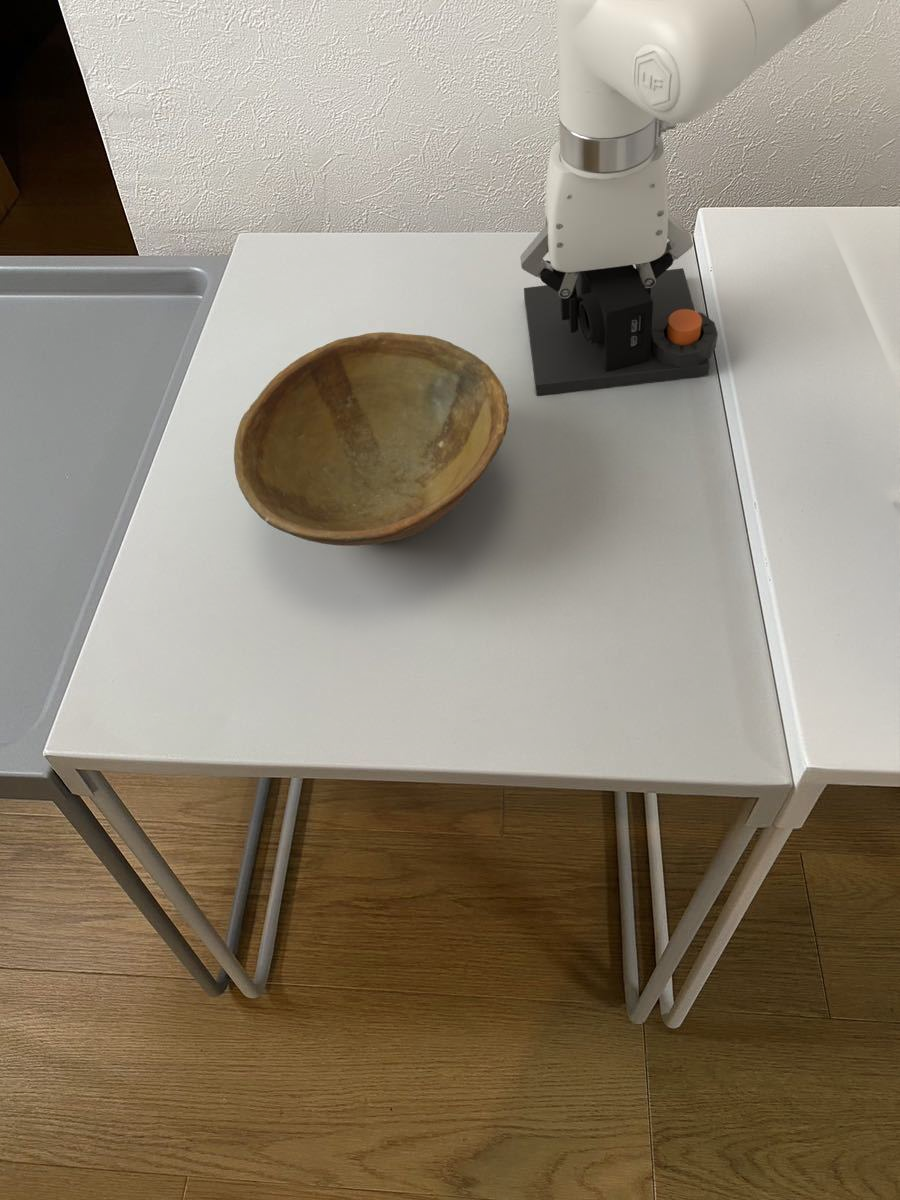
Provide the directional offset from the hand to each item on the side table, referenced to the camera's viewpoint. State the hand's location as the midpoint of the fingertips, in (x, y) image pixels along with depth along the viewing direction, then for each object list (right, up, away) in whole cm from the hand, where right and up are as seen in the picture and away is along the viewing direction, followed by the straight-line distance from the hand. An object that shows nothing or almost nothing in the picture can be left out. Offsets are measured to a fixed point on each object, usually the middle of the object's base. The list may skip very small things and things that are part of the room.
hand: (604, 317), depth 88 cm
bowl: (-20, -18, -5) cm, 27 cm away
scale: (+1, -1, +3) cm, 4 cm away
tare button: (+7, -2, -2) cm, 8 cm away
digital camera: (0, -1, +2) cm, 2 cm away
